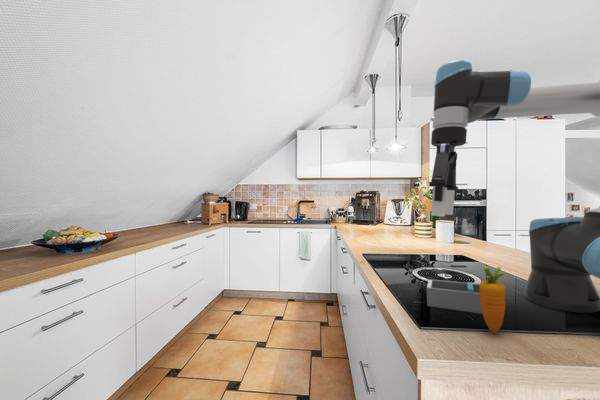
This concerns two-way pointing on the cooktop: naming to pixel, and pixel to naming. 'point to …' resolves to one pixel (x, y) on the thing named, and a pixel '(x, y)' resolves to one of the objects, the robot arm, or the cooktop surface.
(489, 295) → the carrot
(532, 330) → the cooktop surface
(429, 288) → the grey open box
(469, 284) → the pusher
